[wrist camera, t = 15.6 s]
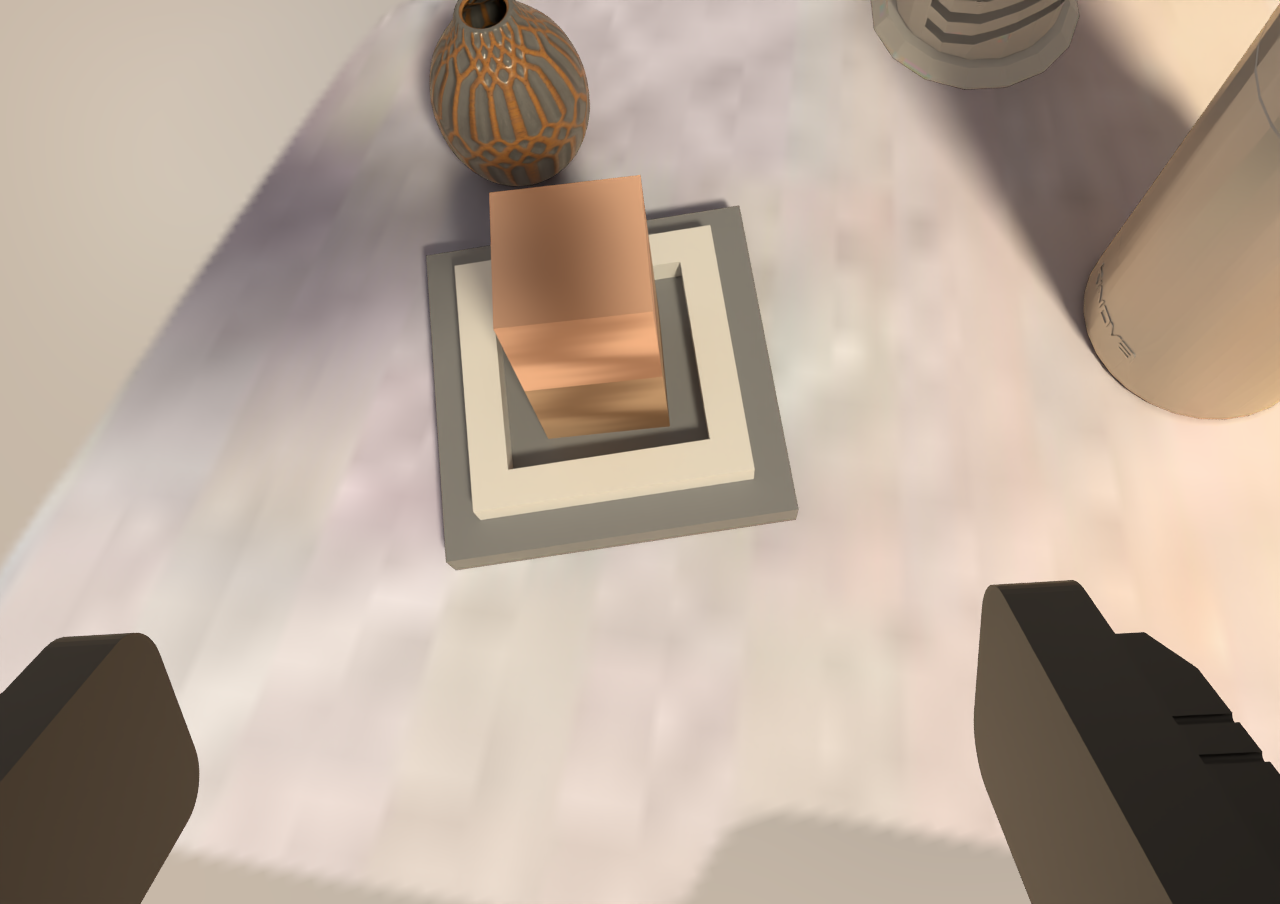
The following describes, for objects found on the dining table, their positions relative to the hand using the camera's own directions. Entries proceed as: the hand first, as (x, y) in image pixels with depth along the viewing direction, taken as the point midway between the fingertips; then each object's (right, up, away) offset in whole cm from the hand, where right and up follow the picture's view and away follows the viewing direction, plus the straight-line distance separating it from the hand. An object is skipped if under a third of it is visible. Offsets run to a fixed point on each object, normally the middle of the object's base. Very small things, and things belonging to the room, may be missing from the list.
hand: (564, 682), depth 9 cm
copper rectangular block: (-1, +5, +31) cm, 31 cm away
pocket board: (-1, +5, +32) cm, 33 cm away
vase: (-5, +17, +37) cm, 41 cm away
